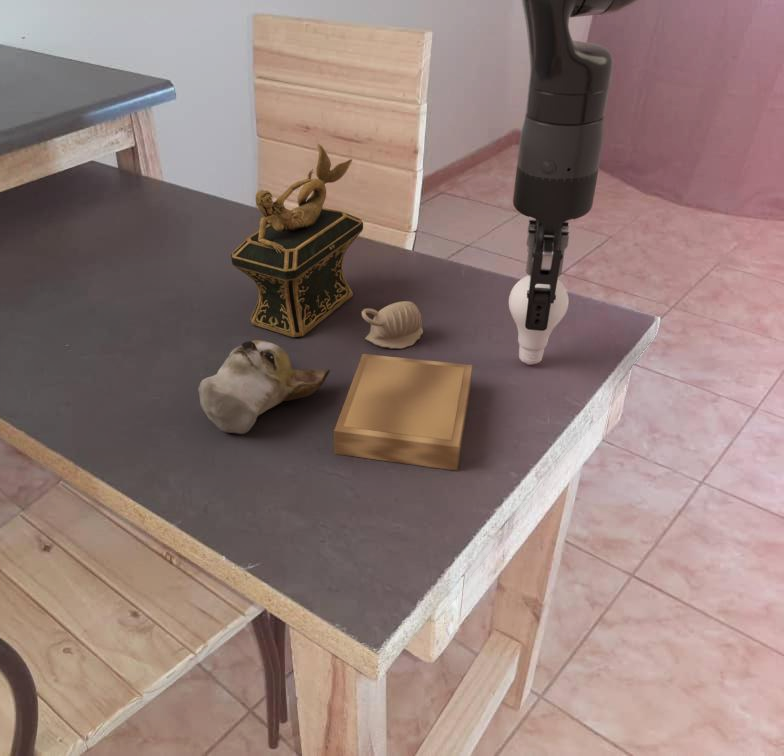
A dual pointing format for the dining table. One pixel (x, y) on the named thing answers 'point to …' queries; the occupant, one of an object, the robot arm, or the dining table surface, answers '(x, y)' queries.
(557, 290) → the lightbulb
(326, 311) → the decorative box
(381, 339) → the decorative ornament
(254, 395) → the ceramic sculpture
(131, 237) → the dining table surface
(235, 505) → the dining table surface
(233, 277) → the dining table surface
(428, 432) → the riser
